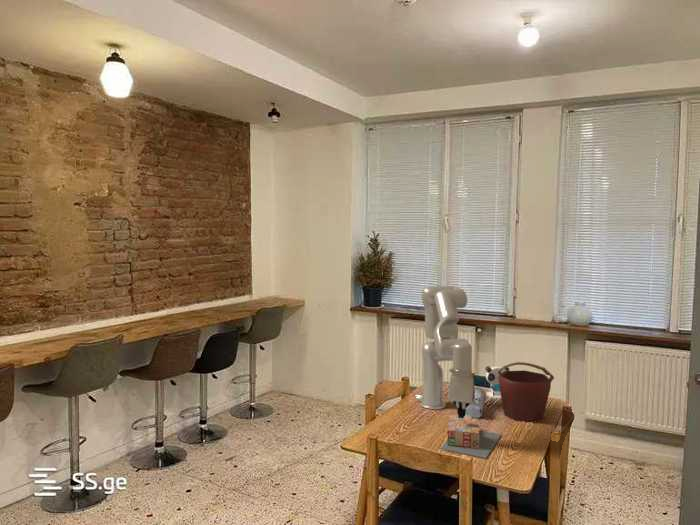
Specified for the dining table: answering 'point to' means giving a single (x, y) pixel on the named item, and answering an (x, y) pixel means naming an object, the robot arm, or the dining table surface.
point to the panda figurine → (494, 380)
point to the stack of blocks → (463, 431)
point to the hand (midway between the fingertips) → (461, 417)
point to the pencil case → (477, 403)
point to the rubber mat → (485, 445)
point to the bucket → (524, 393)
